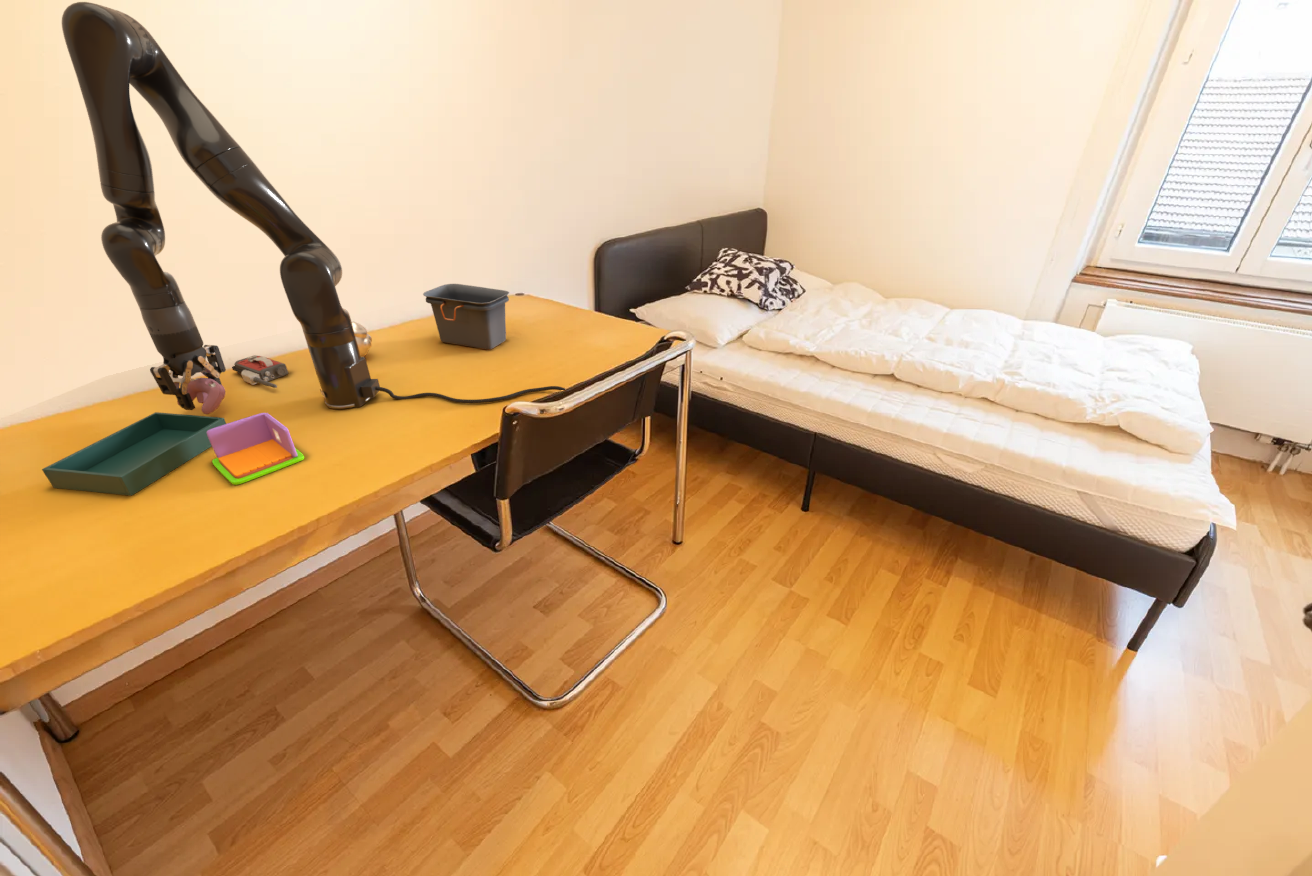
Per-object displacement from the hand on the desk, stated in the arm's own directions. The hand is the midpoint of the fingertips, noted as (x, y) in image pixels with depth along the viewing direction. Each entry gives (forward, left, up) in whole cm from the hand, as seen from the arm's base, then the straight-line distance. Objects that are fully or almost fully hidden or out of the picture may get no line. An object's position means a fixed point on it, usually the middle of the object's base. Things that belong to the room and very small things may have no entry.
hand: (204, 401), depth 119 cm
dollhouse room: (-25, +16, -3) cm, 30 cm away
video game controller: (0, 0, -1) cm, 1 cm away
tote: (-5, +18, -3) cm, 19 cm away
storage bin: (-38, -49, -3) cm, 62 cm away
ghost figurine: (-13, -33, -3) cm, 36 cm away
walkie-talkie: (+1, -18, -3) cm, 18 cm away
